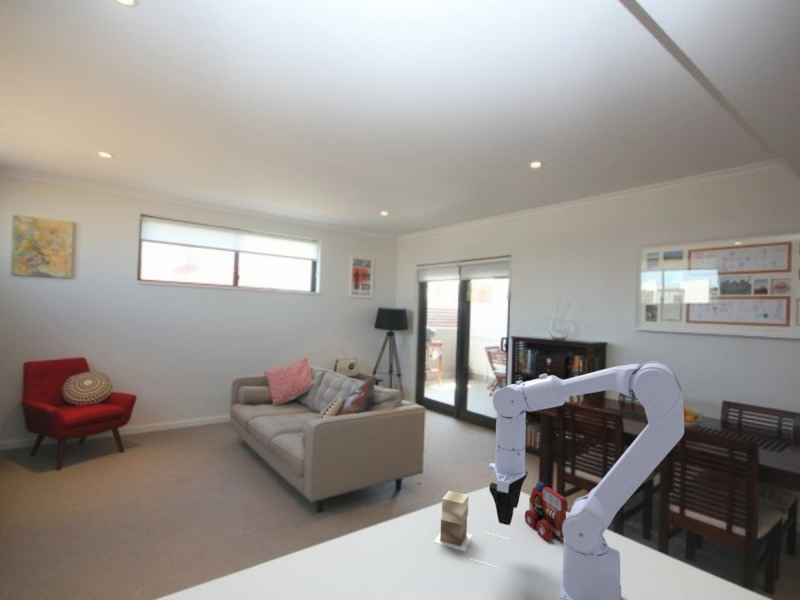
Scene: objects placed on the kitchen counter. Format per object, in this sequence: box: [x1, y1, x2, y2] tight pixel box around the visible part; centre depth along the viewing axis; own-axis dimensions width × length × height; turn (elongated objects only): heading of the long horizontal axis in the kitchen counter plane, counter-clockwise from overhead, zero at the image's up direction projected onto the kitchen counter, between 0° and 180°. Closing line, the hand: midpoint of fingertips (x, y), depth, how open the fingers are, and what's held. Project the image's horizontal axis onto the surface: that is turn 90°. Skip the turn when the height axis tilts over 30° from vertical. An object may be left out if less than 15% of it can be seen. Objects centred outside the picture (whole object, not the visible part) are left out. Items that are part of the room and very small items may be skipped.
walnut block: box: [440, 517, 468, 546], centre depth 90 cm, size 4×4×4 cm
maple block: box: [441, 490, 469, 525], centre depth 90 cm, size 4×4×4 cm
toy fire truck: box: [524, 481, 569, 542], centre depth 95 cm, size 7×12×10 cm, turn 15°
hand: (508, 514), depth 83 cm, fingers open, 7 cm apart
